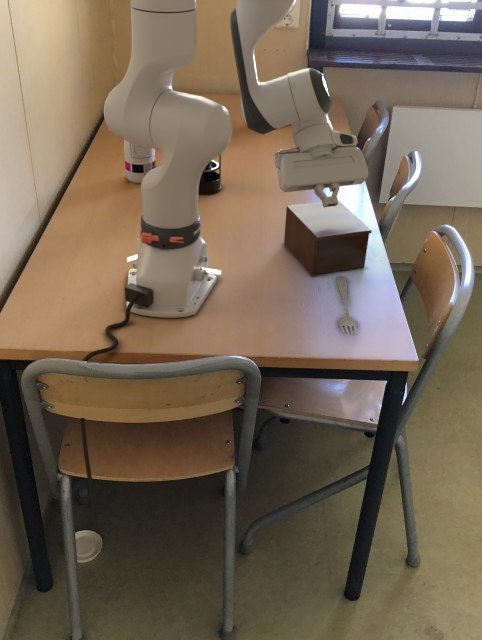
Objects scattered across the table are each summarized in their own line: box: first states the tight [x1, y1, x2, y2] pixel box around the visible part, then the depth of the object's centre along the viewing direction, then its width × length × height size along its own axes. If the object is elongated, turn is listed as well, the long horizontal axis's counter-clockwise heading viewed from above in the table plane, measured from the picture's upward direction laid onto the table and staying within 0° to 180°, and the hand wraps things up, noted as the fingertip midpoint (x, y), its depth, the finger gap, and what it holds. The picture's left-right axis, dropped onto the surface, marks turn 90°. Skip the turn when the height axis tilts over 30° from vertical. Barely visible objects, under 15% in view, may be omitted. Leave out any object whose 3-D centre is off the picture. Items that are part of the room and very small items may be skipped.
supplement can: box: [122, 139, 157, 184], centre depth 188 cm, size 8×8×15 cm
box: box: [283, 209, 370, 277], centre depth 157 cm, size 16×13×9 cm
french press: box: [198, 154, 222, 195], centre depth 183 cm, size 12×9×23 cm
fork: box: [336, 276, 358, 336], centre depth 141 cm, size 3×24×2 cm, turn 178°
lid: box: [286, 199, 372, 241], centre depth 154 cm, size 17×13×1 cm
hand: (331, 205), depth 151 cm, fingers closed
